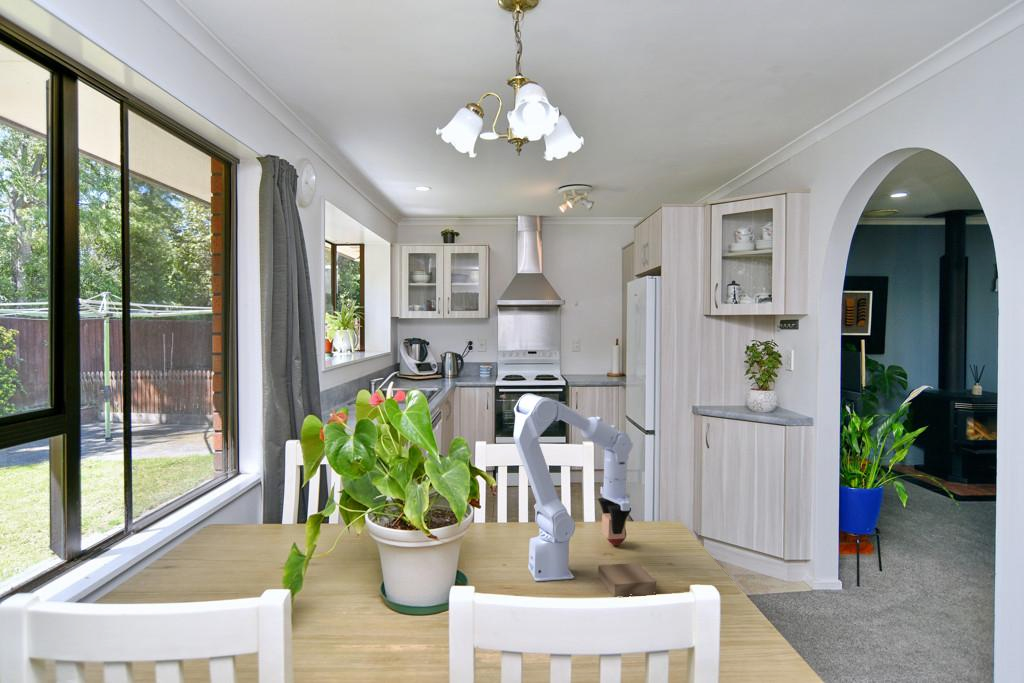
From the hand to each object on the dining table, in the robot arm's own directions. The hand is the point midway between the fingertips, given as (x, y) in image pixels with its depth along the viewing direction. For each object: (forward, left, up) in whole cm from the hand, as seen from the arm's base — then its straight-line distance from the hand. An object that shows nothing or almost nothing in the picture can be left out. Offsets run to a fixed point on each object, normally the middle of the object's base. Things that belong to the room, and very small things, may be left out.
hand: (613, 529), depth 140 cm
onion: (+5, +10, -9) cm, 14 cm away
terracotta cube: (0, 0, -1) cm, 1 cm away
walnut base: (-2, -13, -8) cm, 16 cm away
